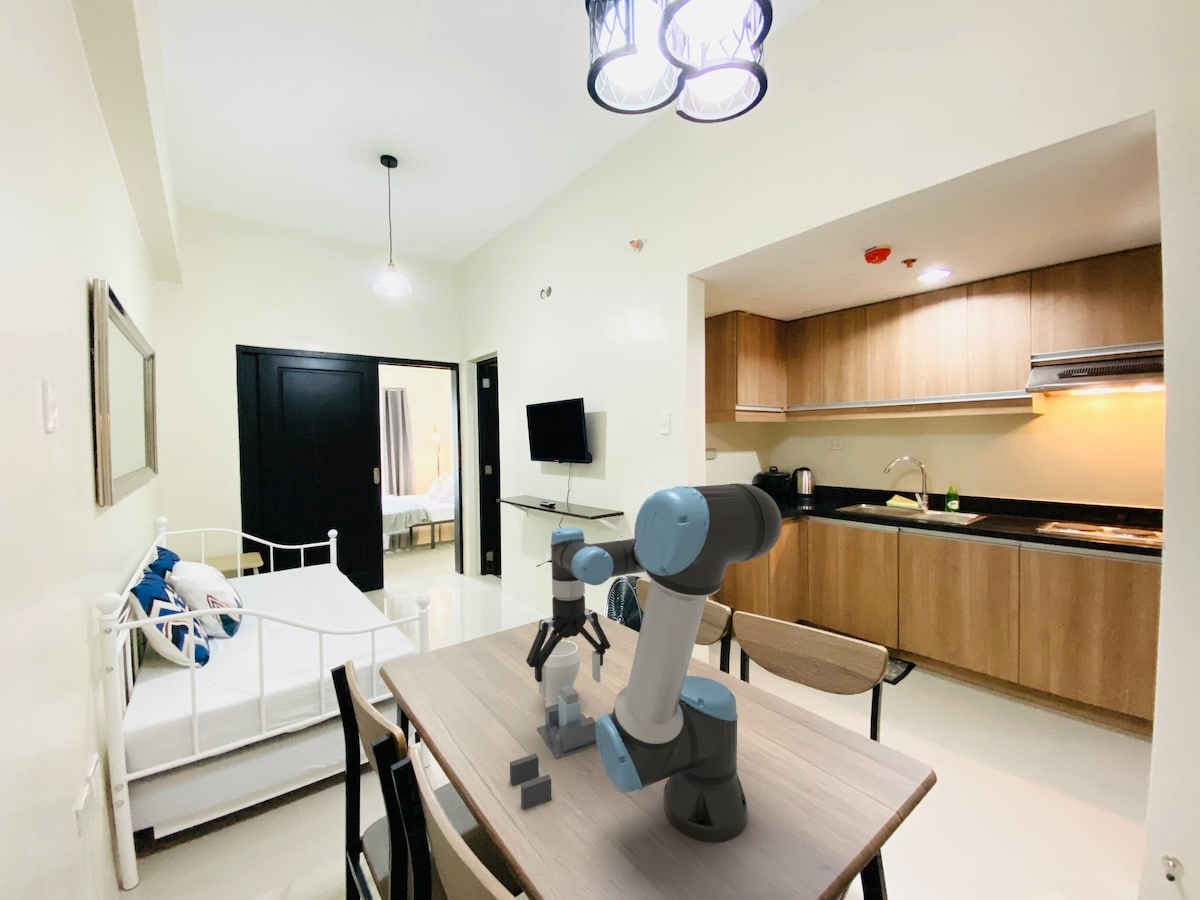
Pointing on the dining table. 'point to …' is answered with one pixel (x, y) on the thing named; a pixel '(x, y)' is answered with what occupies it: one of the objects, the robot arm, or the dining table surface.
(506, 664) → the dining table surface
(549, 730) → the port
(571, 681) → the cup
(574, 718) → the plug
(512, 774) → the pair of dark bars
